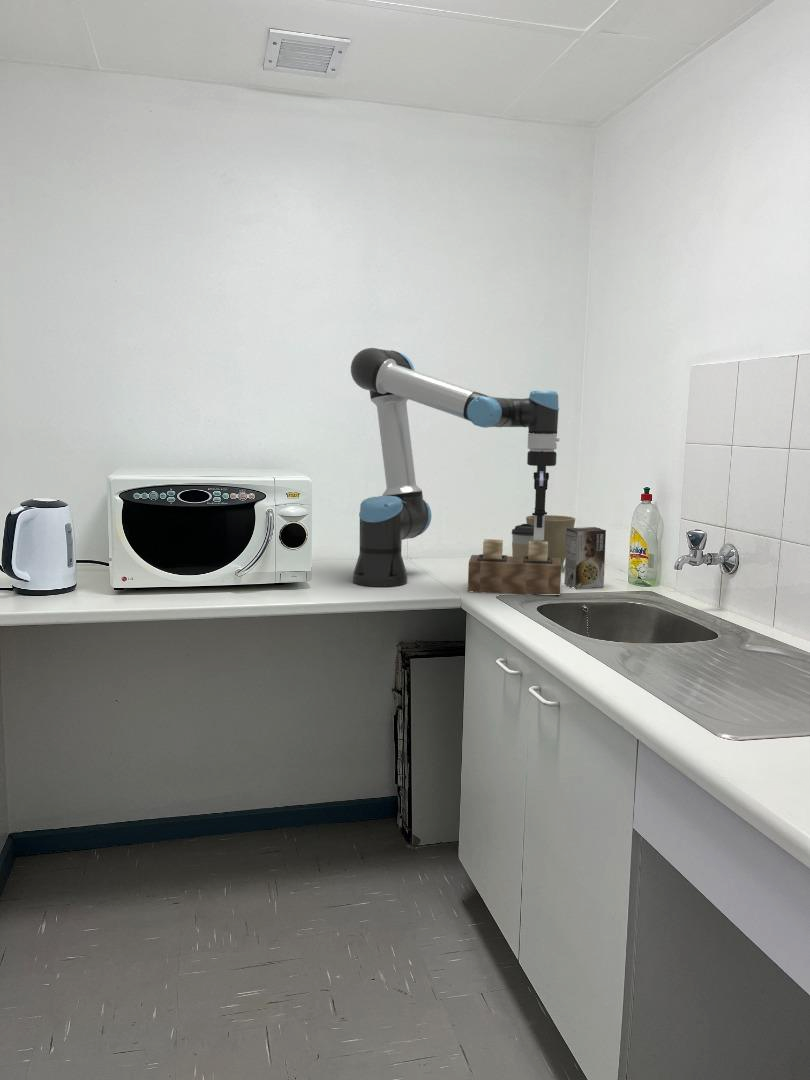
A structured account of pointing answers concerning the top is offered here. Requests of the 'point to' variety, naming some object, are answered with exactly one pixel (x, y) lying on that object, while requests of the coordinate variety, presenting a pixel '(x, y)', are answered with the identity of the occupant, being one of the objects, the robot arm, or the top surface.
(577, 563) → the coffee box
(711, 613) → the top surface
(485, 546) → the dowel
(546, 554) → the dowel
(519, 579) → the walnut block
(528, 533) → the coffee cup
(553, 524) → the plant pot
